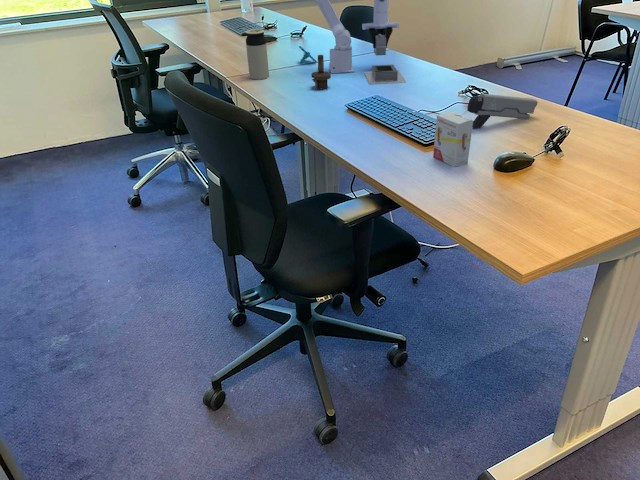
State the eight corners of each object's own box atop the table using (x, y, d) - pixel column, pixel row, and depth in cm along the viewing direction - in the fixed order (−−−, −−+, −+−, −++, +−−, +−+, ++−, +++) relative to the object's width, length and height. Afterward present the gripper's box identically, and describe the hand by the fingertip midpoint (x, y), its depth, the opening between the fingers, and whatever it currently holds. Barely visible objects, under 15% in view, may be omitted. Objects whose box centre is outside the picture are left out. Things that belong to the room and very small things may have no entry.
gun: (459, 125, 154) (469, 92, 150) (522, 129, 164) (533, 98, 160) (464, 128, 152) (475, 94, 148) (527, 132, 162) (539, 100, 158)
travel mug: (273, 76, 212) (269, 30, 202) (258, 81, 207) (253, 33, 197) (260, 73, 217) (255, 28, 207) (245, 77, 212) (240, 31, 202)
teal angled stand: (319, 61, 224) (301, 45, 220) (310, 72, 225) (292, 56, 222) (316, 59, 234) (299, 43, 230) (307, 69, 235) (291, 54, 232)
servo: (376, 56, 208) (377, 37, 204) (373, 51, 216) (373, 32, 212) (386, 56, 208) (387, 37, 204) (382, 50, 216) (383, 32, 212)
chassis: (369, 84, 198) (369, 74, 196) (364, 73, 211) (364, 64, 209) (405, 82, 198) (406, 72, 196) (398, 71, 211) (398, 62, 209)
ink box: (431, 156, 139) (435, 114, 132) (445, 152, 141) (450, 110, 134) (454, 167, 132) (459, 123, 126) (468, 163, 134) (474, 119, 128)
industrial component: (314, 91, 192) (313, 58, 186) (308, 86, 198) (307, 54, 192) (338, 88, 195) (337, 55, 188) (331, 83, 201) (331, 51, 194)
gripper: (363, 14, 200) (363, 50, 207) (401, 12, 200) (399, 48, 208) (361, 11, 206) (361, 46, 213) (397, 9, 206) (396, 44, 213)
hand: (379, 47), depth 211 cm, fingers closed on servo, 4 cm apart
